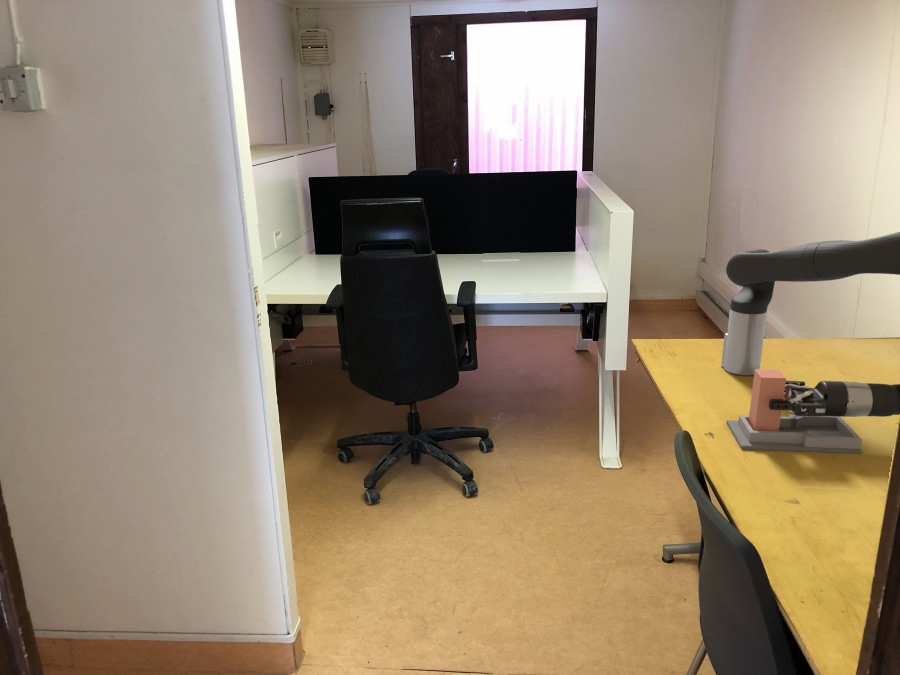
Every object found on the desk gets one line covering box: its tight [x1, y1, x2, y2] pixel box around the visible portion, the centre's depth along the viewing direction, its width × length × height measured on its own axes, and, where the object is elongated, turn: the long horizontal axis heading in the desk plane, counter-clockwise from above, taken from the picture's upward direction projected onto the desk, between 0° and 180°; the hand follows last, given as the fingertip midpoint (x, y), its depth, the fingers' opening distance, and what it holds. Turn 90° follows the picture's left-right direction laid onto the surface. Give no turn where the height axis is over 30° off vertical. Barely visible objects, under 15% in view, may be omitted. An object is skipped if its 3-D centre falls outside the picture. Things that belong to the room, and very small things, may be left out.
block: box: [748, 368, 787, 432], centre depth 158 cm, size 5×5×14 cm
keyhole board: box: [726, 413, 862, 454], centre depth 159 cm, size 24×13×3 cm, turn 83°
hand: (763, 396), depth 157 cm, fingers open, 8 cm apart
